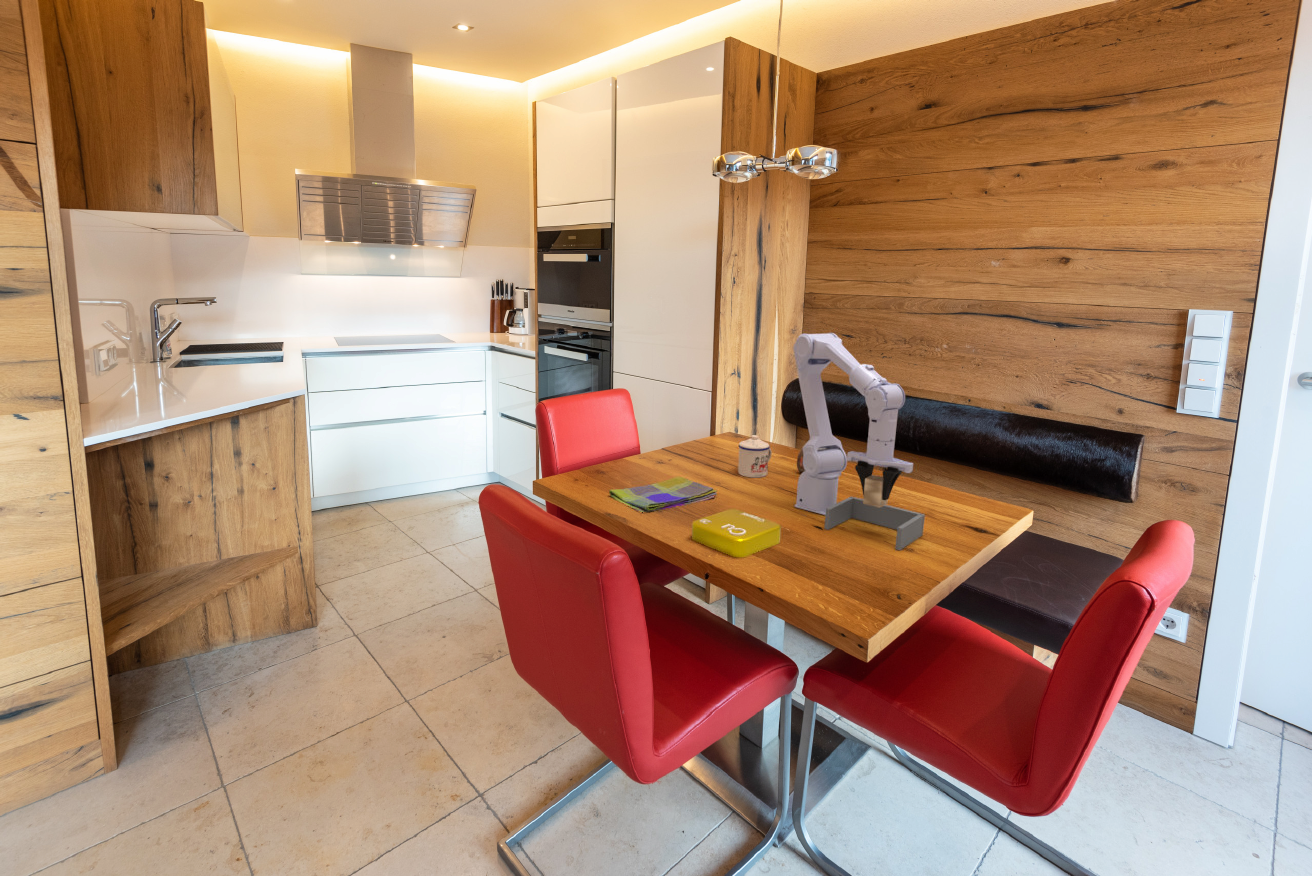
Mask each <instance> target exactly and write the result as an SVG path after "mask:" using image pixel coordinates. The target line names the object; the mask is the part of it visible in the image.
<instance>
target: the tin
mask: <svg viewBox="0 0 1312 876" xmlns="http://www.w3.org/2000/svg"><path fill="white" fill-rule="evenodd" d="M803 447H804V445H803V446H802V447H801V448H800V450H799V452H798V455H797V459H796V468H797V469H796V470H797V471H798V472H801V473H803V472H804V471H805V469H804V466H803ZM821 449H826V448H818V450H821Z"/></svg>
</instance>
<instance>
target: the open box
mask: <svg viewBox="0 0 1312 876" xmlns="http://www.w3.org/2000/svg"><path fill="white" fill-rule="evenodd" d="M824 516H825V517H824V528H823V529H824V530H828V531H829V530H831V529H832V528H835V527H836V525H837V526H838V524H839V525H840V524H842V523H844V522H846V521H848V520H850V519H855V520H858V521H862V522H865V521H866V523H871V524H873V525H877V526H881V527H885V528H888V529H892V530H896V538H895V539H896V540H895V547H894V549H895V550H896V551H901V550H903V549H904V548H905V547H907V546H909V545H910V544H911V543H912V544H913V542H915V541H916V540H918V539H919V538H921V537H922V536H923V533H924V526H925V517H926V515H925V514H924V513H921V512H916V511H913V510H909V509H905V508H900V507H895V506H892V505H888V504H886V505H884V506H882V507H880V508H879V507H874V506H870V505H866V504H863V498H859V497H854V496H851V495H850V496H849V497H847V498H845V499H843V500H841V501H837V502H836V504H834V505H832V506H830V507H828V508H826V514H825V515H824Z"/></svg>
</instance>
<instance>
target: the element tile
mask: <svg viewBox="0 0 1312 876" xmlns="http://www.w3.org/2000/svg"><path fill="white" fill-rule="evenodd" d="M781 530H782V527H781V524H779V523H778V522H775V521H772V520H769V519H766V518H763V517H760V516H757V515H754V514H751V513H750V512H749V513H748V512H746V511H742V510H739V509H736V508H730V509H726V510H723V511H720V512H717V513H714V514H711V515H707V516H704V517H701V518H698V519H695V520H693V521H692V522H691V540H692V539H693V540H692V541H694V542H696V543H698V542H699V543H698V544H700V543H701V544H700V545H703V544H704V546H705V545H706V546H705V547H708V548H710V547H711V548H710V549H713V550H715V549H716V550H715V551H717V550H718V552H720V551H721V553H722V552H723V554H725V553H726V554H725V555H727V554H728V555H727V556H729V555H730V557H733V558H736V557H737V558H738V557H739V559H741V557H742V558H746V557H749V556H751V555H754V554H756V553H759V552H761V551H763V550H766V549H768V548H772V547H773V546H776V545H778V544H780V542H781ZM758 551H759V552H758ZM753 553H754V554H753Z"/></svg>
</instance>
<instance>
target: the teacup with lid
mask: <svg viewBox="0 0 1312 876" xmlns="http://www.w3.org/2000/svg"><path fill="white" fill-rule="evenodd" d="M738 447H739V448H738V464H737V465H738V467H737V473H738V474H739V475H740V476H742V477H747V478H752V479H753V478H754V479H755V478H764V477H766V476H767V475H768V472H769V471H768V468H769V466H768V465H769V462H770V461H771V457H772V452H773V451H772V449H771V447H770V444H769V443H768V442H766V441H763V440H762V439H760V438H759V436H758V435H757V434H756V435H755V434H752V435H751V436H750V437H749V438H748V439H746V440H742V441H740V442H739V443H738Z"/></svg>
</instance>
